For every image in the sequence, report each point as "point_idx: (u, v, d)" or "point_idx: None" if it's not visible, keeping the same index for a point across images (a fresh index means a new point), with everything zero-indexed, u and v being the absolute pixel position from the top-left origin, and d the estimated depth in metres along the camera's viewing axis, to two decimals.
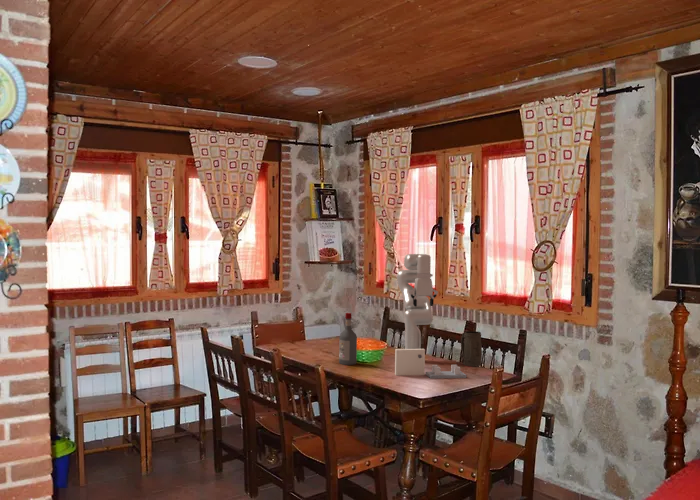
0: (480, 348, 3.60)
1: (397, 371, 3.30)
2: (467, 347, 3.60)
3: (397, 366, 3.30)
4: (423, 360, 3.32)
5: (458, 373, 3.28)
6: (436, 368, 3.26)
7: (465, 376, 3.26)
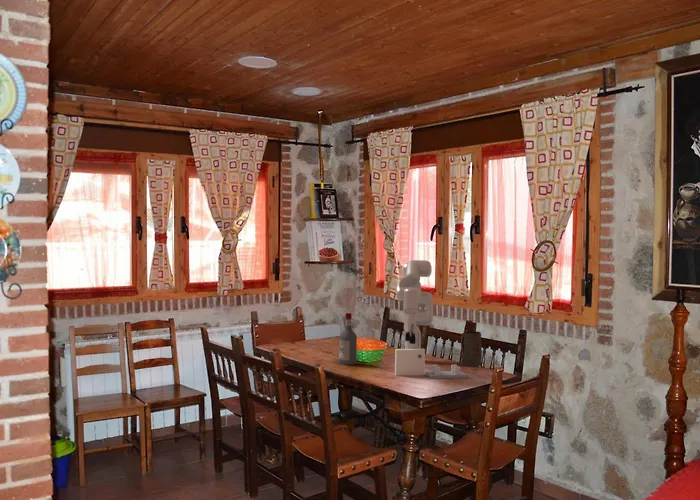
0: (480, 348, 3.60)
1: (397, 371, 3.30)
2: (467, 347, 3.60)
3: (397, 366, 3.30)
4: (423, 360, 3.32)
5: (458, 373, 3.28)
6: (436, 368, 3.26)
7: (465, 376, 3.26)
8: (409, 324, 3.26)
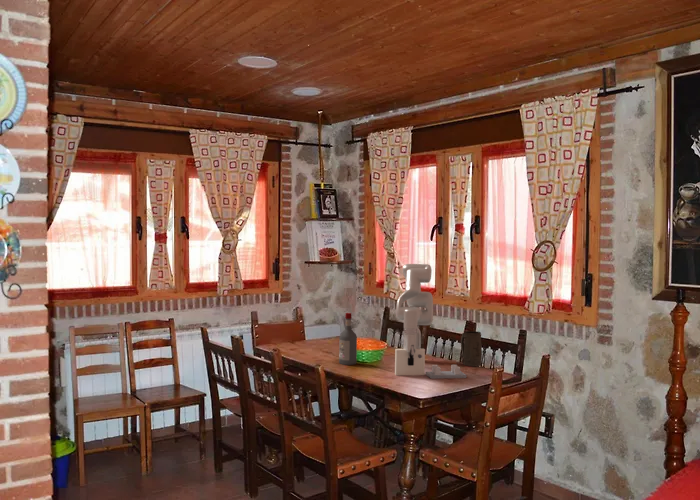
0: (480, 348, 3.60)
1: (397, 371, 3.30)
2: (467, 347, 3.60)
3: (397, 366, 3.30)
4: (423, 360, 3.32)
5: (458, 373, 3.28)
6: (436, 368, 3.26)
7: (465, 376, 3.26)
8: (409, 345, 3.27)
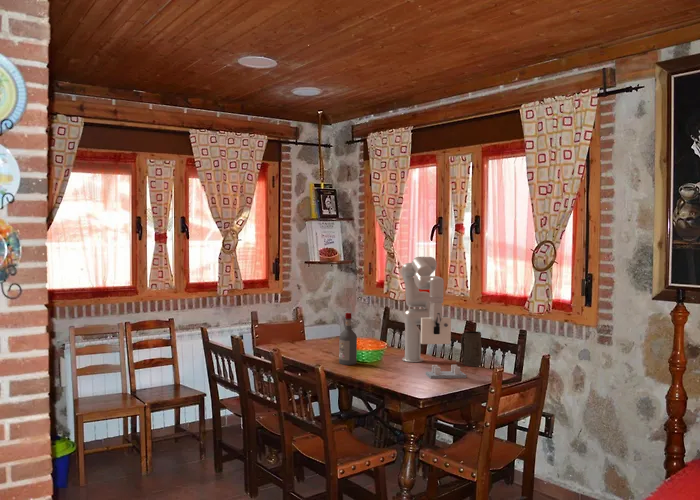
0: (480, 348, 3.60)
1: (423, 339, 3.28)
2: (467, 347, 3.60)
3: (423, 334, 3.28)
4: (449, 329, 3.30)
5: (458, 373, 3.28)
6: (436, 368, 3.26)
7: (465, 376, 3.26)
8: (435, 313, 3.25)
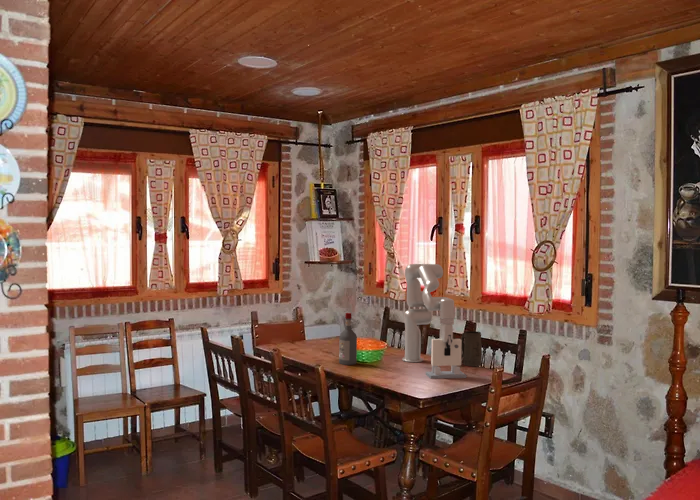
0: (480, 348, 3.60)
1: (434, 361, 3.27)
2: (467, 347, 3.60)
3: (434, 356, 3.27)
4: (460, 350, 3.29)
5: (458, 373, 3.28)
6: (436, 368, 3.26)
7: (465, 376, 3.26)
8: (446, 335, 3.25)
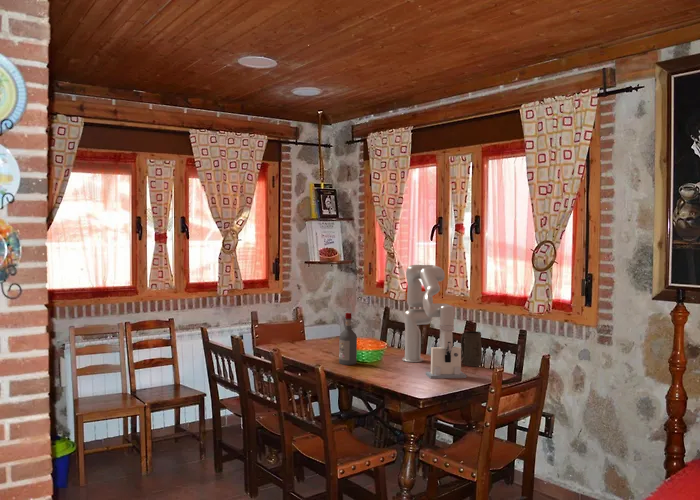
0: (480, 348, 3.60)
1: (433, 370, 3.28)
2: (467, 347, 3.60)
3: (433, 365, 3.28)
4: (459, 358, 3.30)
5: (458, 373, 3.28)
6: (436, 368, 3.26)
7: (465, 376, 3.26)
8: (445, 341, 3.25)
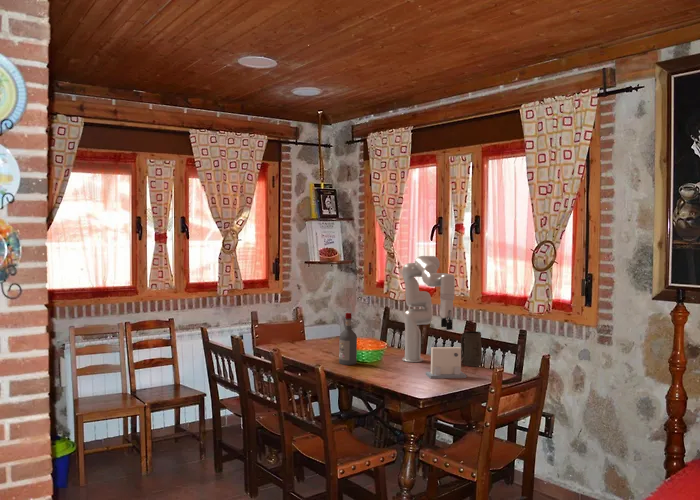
0: (480, 348, 3.60)
1: (433, 370, 3.28)
2: (467, 347, 3.60)
3: (433, 365, 3.28)
4: (459, 358, 3.30)
5: (458, 373, 3.28)
6: (436, 368, 3.26)
7: (465, 376, 3.26)
8: (446, 310, 3.24)
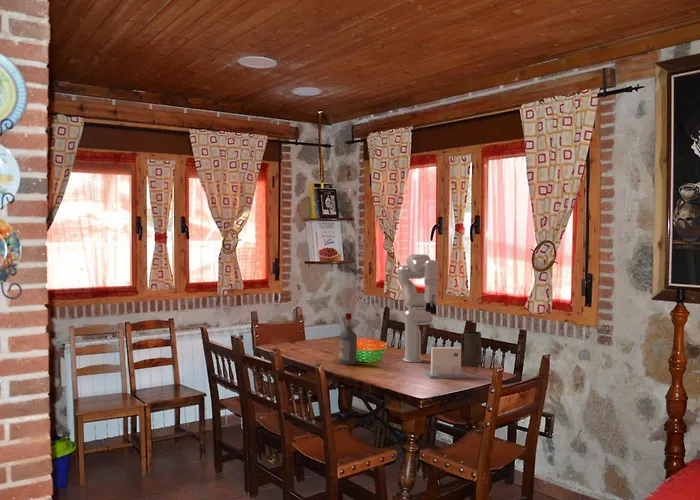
0: (480, 348, 3.60)
1: (433, 370, 3.28)
2: (467, 347, 3.60)
3: (433, 365, 3.28)
4: (459, 358, 3.30)
5: (458, 373, 3.28)
6: (436, 368, 3.26)
7: (465, 376, 3.26)
8: (430, 295, 3.34)
